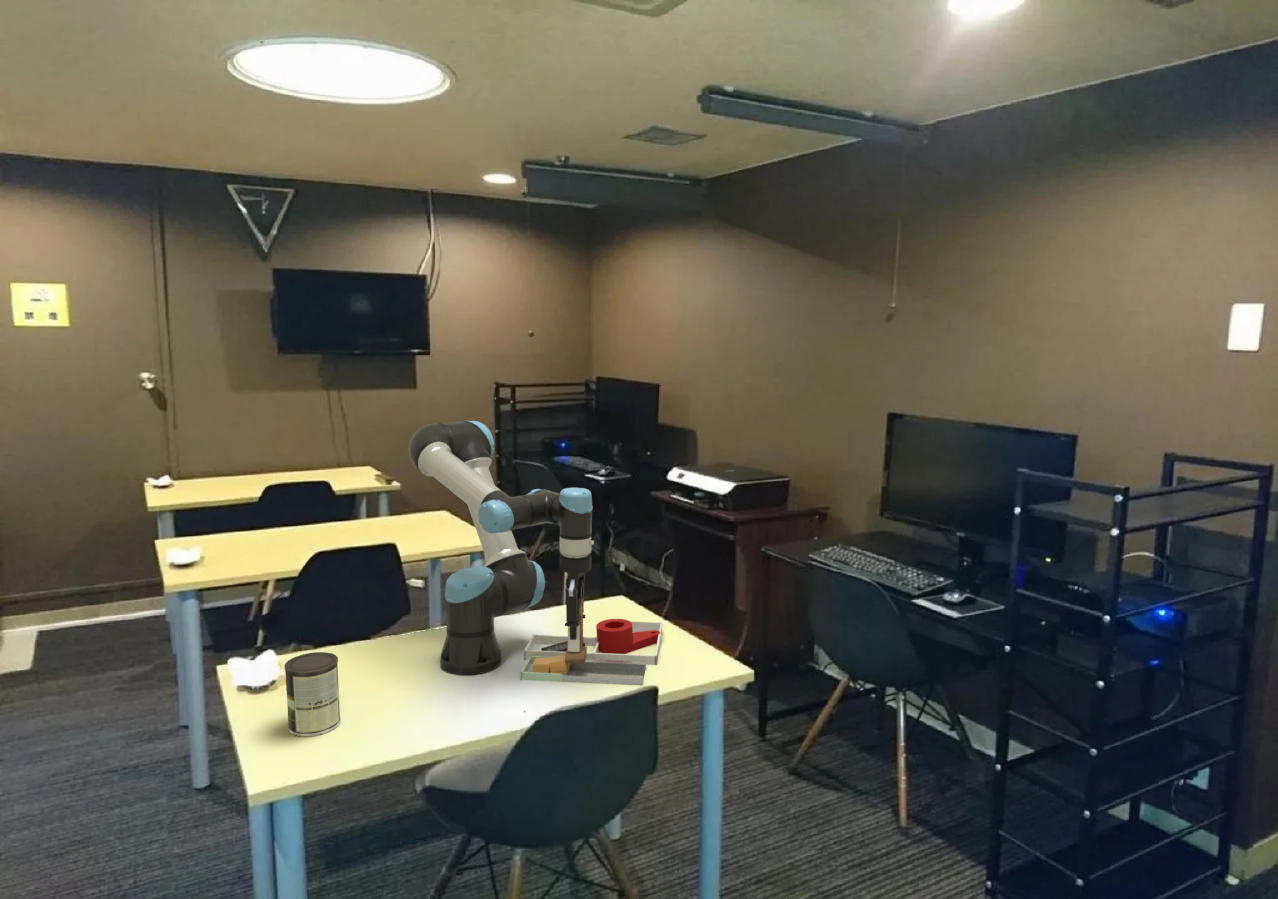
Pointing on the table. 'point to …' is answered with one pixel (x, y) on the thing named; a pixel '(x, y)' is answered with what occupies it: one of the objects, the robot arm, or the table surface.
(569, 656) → the wooden post on base
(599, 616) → the table surface
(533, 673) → the tray
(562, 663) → the orange block
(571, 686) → the table surface
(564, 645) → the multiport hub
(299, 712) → the coffee can
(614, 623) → the lever
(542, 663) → the chip
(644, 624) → the organizer
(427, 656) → the table surface
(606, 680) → the shallow gray tray
